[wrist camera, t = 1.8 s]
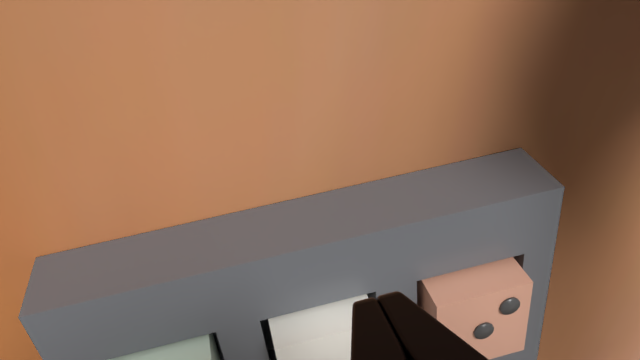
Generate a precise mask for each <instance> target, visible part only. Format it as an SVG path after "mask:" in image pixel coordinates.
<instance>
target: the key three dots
mask: <svg viewBox="0 0 640 360" xmlns="http://www.w3.org/2000/svg"><path fill="white" fill-rule="evenodd" d="M532 288H533V281H532V280H531V279H530V277H529V276H528V275H527V274H526V272H525V271H524V270H523V269H522V267H521V266H520V265H519V264H518V262H517V261H516V260H515V259H514V258H513V257H510V258H506V259H502V260H498V261H494V262H490V263H486V264H482V265H478V266H474V267H470V268H466V269H462V270H459V271H455V272H451V273H447V274H443V275H439V276H435V277H431V278H427V279H423V280H419V281H417V305H418V306H420V307H421V308H422V309H424V310H425V311H426V312H427V313H429V314H430V315H431V316H433V317H434V318H435V319H437V320H438V321H439V322H440V323H442V324H443V325H444V326H446V327H447V328H448V329H450V330H451V331H452V332H453V333H455V334H456V335H457V336H459V337H460V338H461V339H463V340H464V341H465V342H466V343H468V344H469V345H470V346H472V347H473V348H474V349H476V350H477V351H478V352H479V353H481V354H482V355H483V356H485V357H486V358H487V359H493V358H497V357H500V356H504V355H507V354H511V353H514V352H518V351H522V350H524V346H525V339H526V332H527V324H528V317H529V310H530V303H531V296H532Z"/></svg>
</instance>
